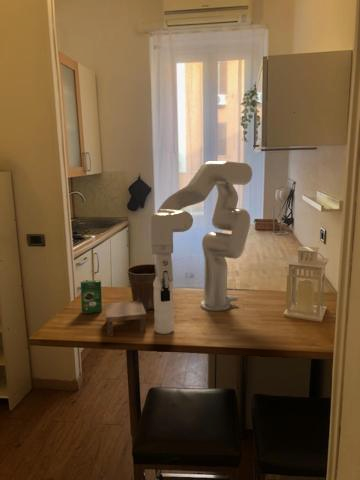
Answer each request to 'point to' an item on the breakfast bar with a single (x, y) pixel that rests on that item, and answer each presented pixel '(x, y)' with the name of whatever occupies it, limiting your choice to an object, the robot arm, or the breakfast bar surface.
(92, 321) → the breakfast bar surface
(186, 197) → the robot arm
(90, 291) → the coffee box
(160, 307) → the water bottle
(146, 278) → the plant pot
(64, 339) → the breakfast bar surface
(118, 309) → the small square stand
